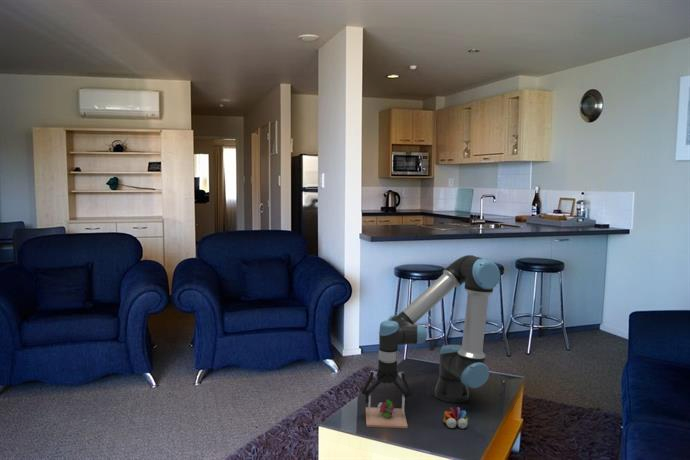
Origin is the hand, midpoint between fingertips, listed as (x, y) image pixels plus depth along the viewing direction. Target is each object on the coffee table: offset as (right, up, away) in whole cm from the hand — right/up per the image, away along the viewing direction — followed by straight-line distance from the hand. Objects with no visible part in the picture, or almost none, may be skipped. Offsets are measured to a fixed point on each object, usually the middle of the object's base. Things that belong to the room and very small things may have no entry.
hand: (386, 411), depth 215 cm
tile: (0, -3, 0) cm, 3 cm away
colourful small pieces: (+27, -5, -4) cm, 28 cm away
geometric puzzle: (0, -2, 0) cm, 2 cm away
